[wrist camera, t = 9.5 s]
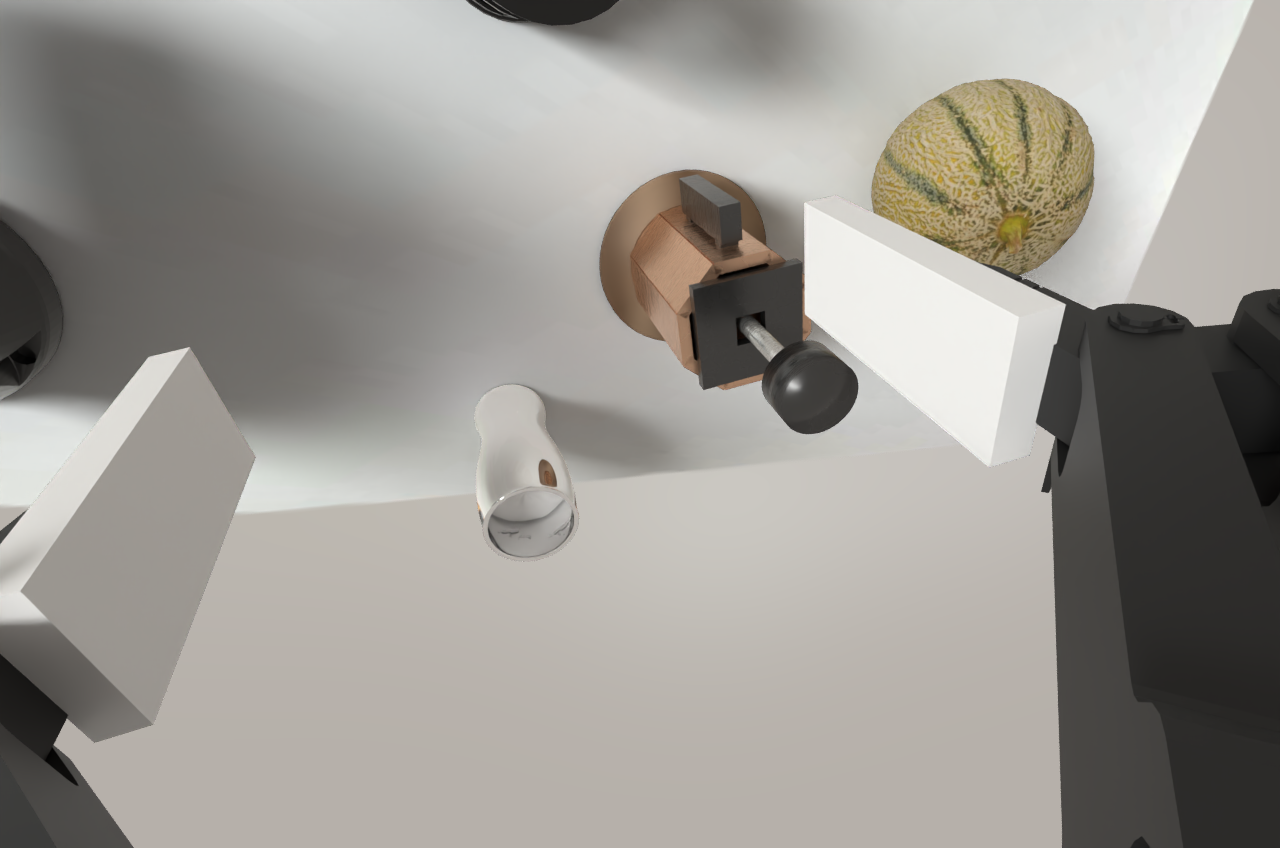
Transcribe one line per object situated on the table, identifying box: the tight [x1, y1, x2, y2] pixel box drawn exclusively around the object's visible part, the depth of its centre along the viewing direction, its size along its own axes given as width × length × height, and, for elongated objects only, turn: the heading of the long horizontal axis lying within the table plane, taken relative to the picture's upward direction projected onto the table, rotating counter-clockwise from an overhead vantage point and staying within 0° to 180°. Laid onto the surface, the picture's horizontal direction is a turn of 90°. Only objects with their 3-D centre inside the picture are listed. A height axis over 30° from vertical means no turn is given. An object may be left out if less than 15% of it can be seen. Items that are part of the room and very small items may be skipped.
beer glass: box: [474, 384, 579, 561], centre depth 51 cm, size 7×7×15 cm
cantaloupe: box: [871, 79, 1095, 275], centre depth 49 cm, size 15×15×15 cm
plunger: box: [717, 271, 858, 434], centre depth 44 cm, size 6×6×21 cm
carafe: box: [630, 174, 811, 390], centre depth 47 cm, size 9×12×13 cm
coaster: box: [600, 170, 766, 341], centre depth 54 cm, size 14×14×1 cm
